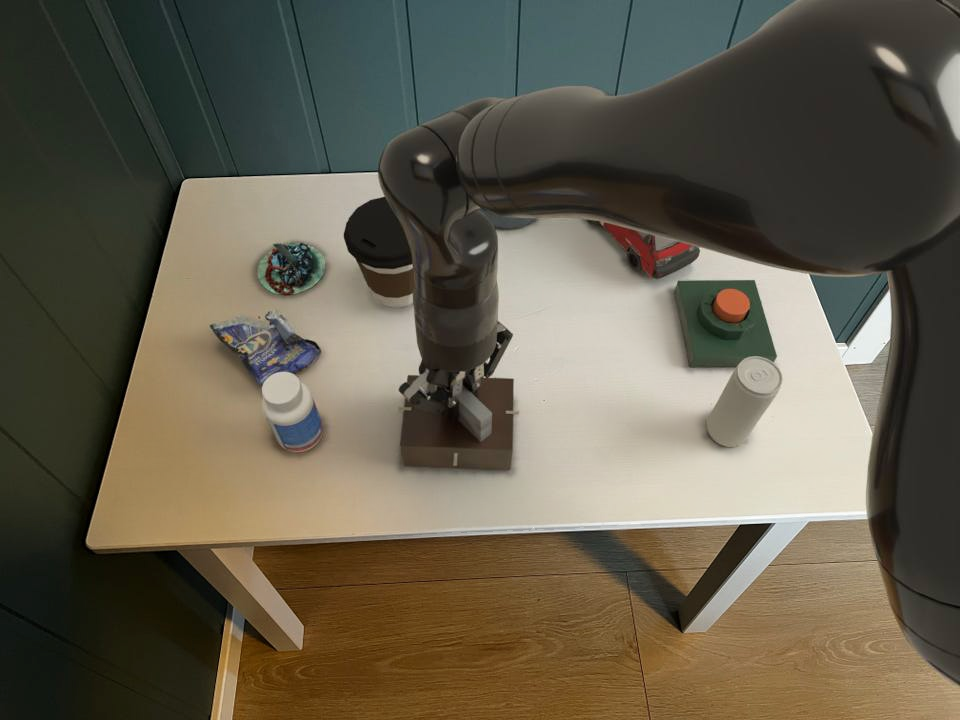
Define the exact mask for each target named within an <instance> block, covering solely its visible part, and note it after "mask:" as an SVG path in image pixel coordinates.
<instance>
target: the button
mask: <svg viewBox="0 0 960 720" xmlns="http://www.w3.org/2000/svg"><path fill="white" fill-rule="evenodd" d="M749 307H750V302H749V299H748V297H747V296H746V295H745V294H744V293H742V292H741V291H739V290H736V289H725V290H722V291H721V292H719V293H718V295H717V297H716V299H715V302H714V304H713V311H714V314H715V315H716V316H717V317H718V318H719V319H720V320H722V321H724V322H728V323H736V322H739V321H741V320H743V319H744V317H745V315H746V313H747V311H748V309H749Z"/></svg>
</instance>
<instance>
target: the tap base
mask: <svg viewBox="0 0 960 720" xmlns="http://www.w3.org/2000/svg"><path fill="white" fill-rule="evenodd" d="M419 375H420V374H419ZM419 375H418V374H408V375H407V377H406V382H408V383H411V384H412V382H413V381H415V380H416V379H417V378H418V377H419ZM481 381H482V384H481V386H480V387H479V388H478V397H477V399H478V400H479V401H480V402H481V403H482V404H483V405H484V406H485V407H486V408H487V409H488V410H489V411H491V412H492V429H491V434H490V435H489V436H488V437H486V438H485V439H484V440H483V441H481V442H480V441H479V440H478V439H477V438H476V437H475V436H474V435H473V434H472V433H471V432H470V431H469V430H468V429H467V428H466V427H465V426H464V425H463V424H462V423H461V422H460V421H459V420H458V419H457V420H456V421H455V422H453V421H452V420H451V419H450V420H449V421H448V420H447V419H446V418H445V417H444V416H443V415H442V414H441V413H440V414H438V415H435V414H432V413H429V412H426V411H423V410H420V409H417V408H415V407H414V406H413V405H412V404H411V403H410V402H409V401H408V400H407V399H406V398H405V397H404V405H403V406H398V408H397V409H398V410H397V411H400V412H401V411H403V413H402V414H403V416H402V424H401V434H400V442H399V448H400V454H401V457H402V459H401V460H402V463H403V464H402V465H403V467H412V468H413V467H416V468H417V467H418V468H441V469H442V468H443V469H469V470H471V469H473V470H496V471H497V470H498V471H500V470H501V471H511V470H512V464H513V463H512V462H513V451H514V415H519V414H520V412H519V410H514V395H515V394H514V392H515V391H514V390H515V388H514V387H515V386H514V385H515V379H514V378H509V377H508V378H505V377H489V378H486V377H483V378H482V379H481Z"/></svg>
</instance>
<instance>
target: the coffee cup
mask: <svg viewBox="0 0 960 720" xmlns="http://www.w3.org/2000/svg"><path fill="white" fill-rule="evenodd" d="M343 241H344V243H345V247H346V249H347V253H349V254H350V255H351V256H352V257H353V259H355V261H356V263H357V265H358V267H359V270H360V272H361V275H362V276H363V279H364V281H365V283H366V285H367V287H368V288H369V289H370V291H371V294H372V295H373V297H374V298H375V299H376V300H377V301H378V302H379V303H380V304H382V305H384V306H386V307H388V308H392V309H401V308H405V307H409V306H410V305H413V286H414V276H413V266H412V255H411V251H410V247H409V245H408V242H407V240H406V237H405V235H404V232H403V230H402V228H401V225H400V223H399V221H398V219H397V218H396V216H395V214H394V212H393V211H392V209H391V207H390V205H389V204H388V202H387V200H386V198H385V196H381V197H378V198H373V199H369V200H368V201H366V202H365V203H363V204H361V205H359V206H358V207H356V208H355V210H354V211H353V212H352V213H351V215H350V216H349V217H348V219H347V221H346V223H345V228H344V231H343Z"/></svg>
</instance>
